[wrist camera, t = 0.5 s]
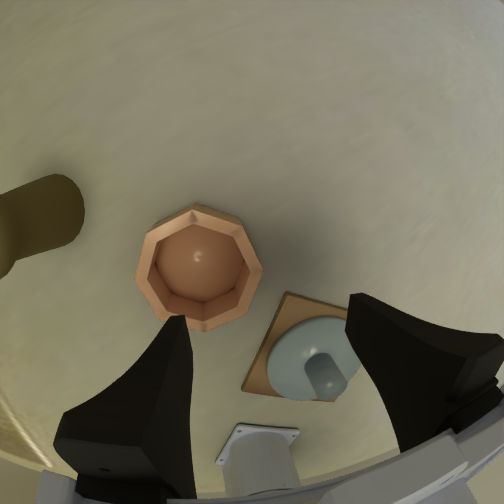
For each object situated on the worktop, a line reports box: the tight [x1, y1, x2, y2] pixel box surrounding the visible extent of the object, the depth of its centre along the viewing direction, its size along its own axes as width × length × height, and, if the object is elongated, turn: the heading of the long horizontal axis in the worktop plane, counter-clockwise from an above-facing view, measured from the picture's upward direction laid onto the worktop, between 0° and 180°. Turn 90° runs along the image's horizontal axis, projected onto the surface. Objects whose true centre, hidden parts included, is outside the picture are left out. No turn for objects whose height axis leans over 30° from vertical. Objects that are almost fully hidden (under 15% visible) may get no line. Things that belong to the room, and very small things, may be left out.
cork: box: [0, 174, 85, 279], centre depth 14 cm, size 6×6×11 cm
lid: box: [266, 315, 361, 401], centre depth 23 cm, size 10×10×4 cm
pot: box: [135, 203, 264, 332], centre depth 20 cm, size 8×8×4 cm
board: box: [241, 292, 348, 402], centre depth 26 cm, size 11×11×1 cm
